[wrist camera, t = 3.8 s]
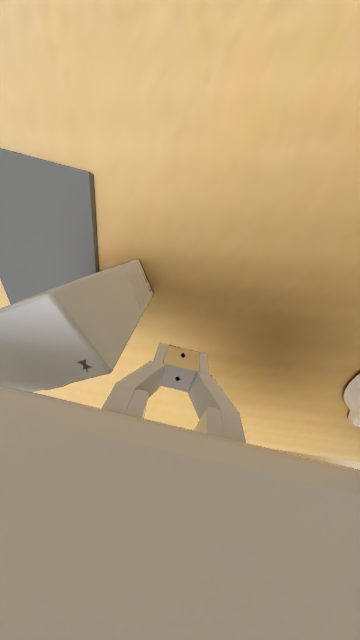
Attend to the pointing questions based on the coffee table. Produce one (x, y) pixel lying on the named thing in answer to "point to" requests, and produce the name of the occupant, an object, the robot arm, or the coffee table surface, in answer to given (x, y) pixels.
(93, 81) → the coffee table surface
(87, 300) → the skincare box
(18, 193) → the mat
